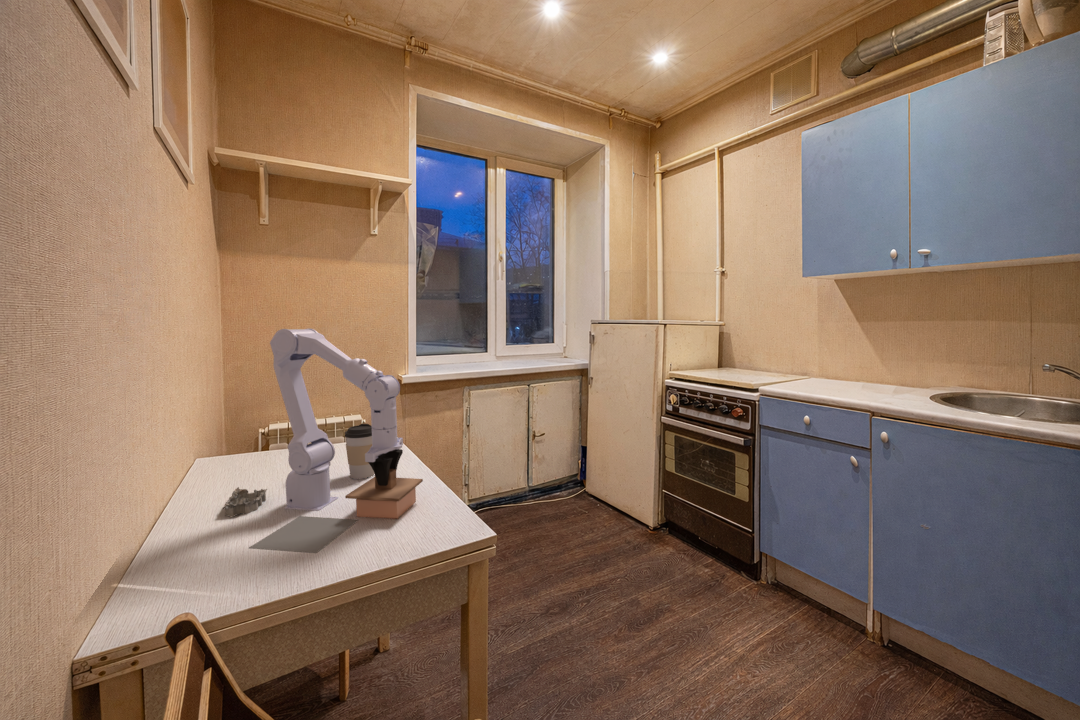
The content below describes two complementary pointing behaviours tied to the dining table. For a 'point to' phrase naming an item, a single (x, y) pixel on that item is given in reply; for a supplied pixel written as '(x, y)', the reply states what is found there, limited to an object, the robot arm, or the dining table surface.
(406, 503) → the open box
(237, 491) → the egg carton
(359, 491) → the lid
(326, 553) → the dining table surface
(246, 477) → the dining table surface
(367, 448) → the coffee cup
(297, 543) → the mat
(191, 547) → the dining table surface
